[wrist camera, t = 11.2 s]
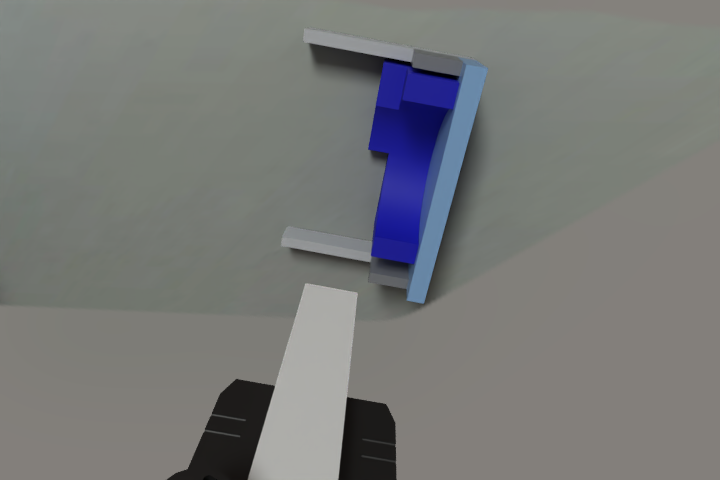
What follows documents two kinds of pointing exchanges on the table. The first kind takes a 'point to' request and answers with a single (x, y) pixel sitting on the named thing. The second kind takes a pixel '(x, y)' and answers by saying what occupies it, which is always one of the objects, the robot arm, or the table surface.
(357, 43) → the blue wall bracket
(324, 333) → the robot arm
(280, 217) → the table surface
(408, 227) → the blue arched bracket piece
